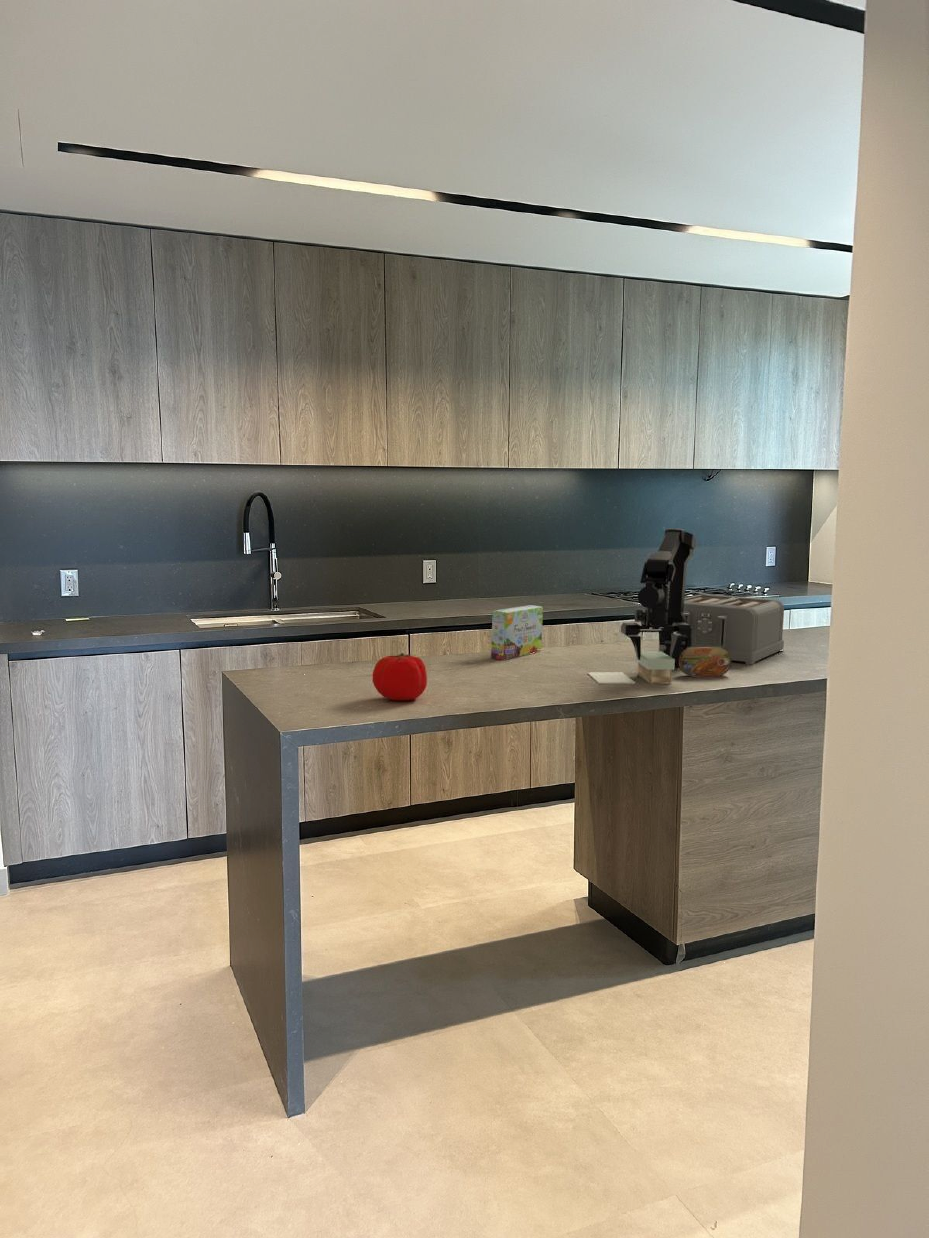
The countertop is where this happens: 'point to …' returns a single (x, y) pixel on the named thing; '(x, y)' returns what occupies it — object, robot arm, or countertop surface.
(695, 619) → the toaster
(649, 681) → the crate
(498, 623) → the snack box
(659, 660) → the pale green block
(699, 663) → the tin
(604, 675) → the mat
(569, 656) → the countertop surface
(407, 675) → the tomato
